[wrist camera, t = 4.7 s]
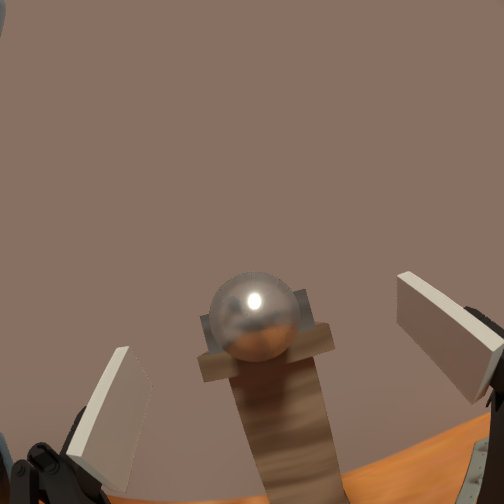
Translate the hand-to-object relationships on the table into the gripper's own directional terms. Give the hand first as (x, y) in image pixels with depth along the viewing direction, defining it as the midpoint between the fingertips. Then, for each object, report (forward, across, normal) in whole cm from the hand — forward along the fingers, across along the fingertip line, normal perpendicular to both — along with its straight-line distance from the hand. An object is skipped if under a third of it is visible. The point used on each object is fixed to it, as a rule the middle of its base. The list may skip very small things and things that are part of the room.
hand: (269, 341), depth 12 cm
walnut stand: (-3, -1, -34) cm, 34 cm away
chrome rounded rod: (+8, -1, -6) cm, 10 cm away
